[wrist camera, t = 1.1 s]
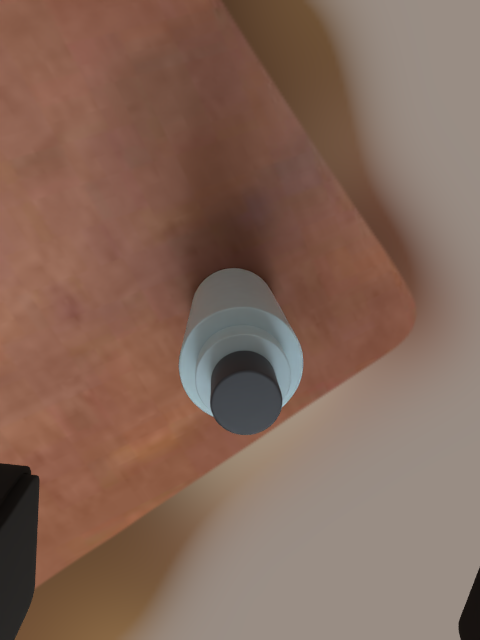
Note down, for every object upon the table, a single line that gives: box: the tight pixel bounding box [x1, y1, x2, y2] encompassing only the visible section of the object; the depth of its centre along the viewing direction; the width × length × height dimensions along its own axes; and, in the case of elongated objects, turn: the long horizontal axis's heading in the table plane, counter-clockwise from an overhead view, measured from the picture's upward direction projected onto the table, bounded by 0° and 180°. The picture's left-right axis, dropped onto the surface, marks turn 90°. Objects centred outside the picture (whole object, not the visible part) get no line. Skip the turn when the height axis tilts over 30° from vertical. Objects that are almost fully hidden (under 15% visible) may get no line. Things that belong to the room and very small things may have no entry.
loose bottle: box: [179, 268, 303, 435], centre depth 20 cm, size 5×5×12 cm
